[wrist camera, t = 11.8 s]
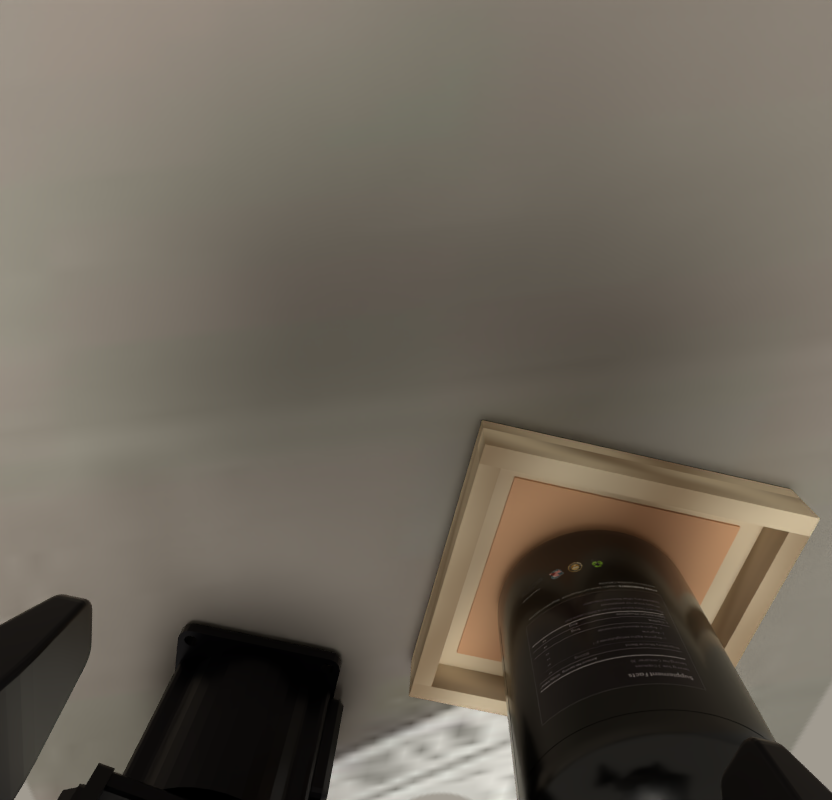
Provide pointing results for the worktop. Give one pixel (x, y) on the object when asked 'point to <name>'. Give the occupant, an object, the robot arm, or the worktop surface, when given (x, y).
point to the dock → (595, 510)
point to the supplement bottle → (616, 676)
